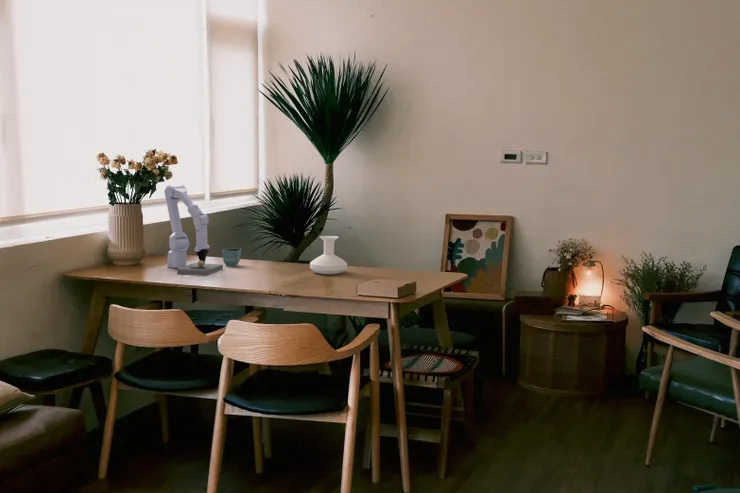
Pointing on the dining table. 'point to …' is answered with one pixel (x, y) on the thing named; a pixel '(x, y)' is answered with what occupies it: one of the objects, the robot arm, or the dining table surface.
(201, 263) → the ball
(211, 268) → the board
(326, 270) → the white vase
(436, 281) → the dining table surface
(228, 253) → the flower pot
